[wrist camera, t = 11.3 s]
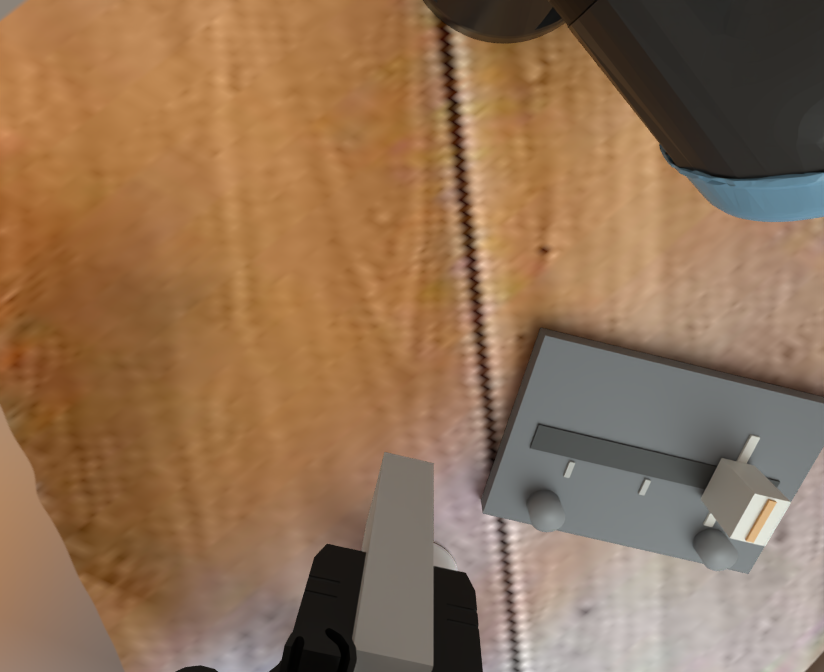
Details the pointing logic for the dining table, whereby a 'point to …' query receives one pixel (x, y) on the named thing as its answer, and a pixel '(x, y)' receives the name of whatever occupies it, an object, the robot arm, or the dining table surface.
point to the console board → (643, 447)
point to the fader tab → (744, 502)
